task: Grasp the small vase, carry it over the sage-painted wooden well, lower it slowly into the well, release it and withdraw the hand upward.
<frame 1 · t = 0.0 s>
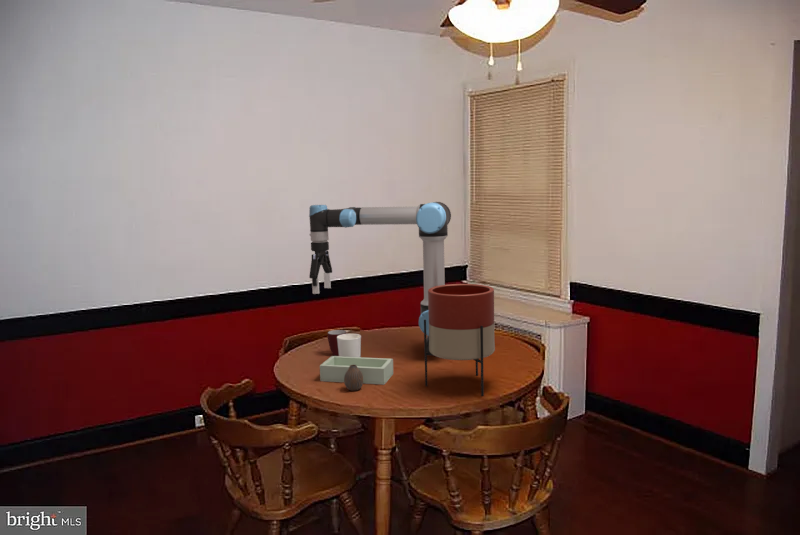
hand: (321, 290, 271), 28 cm above the table, fingers open, 13 cm apart
vase: (354, 389, 228), on the table
mug: (340, 355, 273), on the table
well: (357, 377, 241), on the table
candle holder: (350, 365, 258), on the table
planter: (460, 386, 229), on the table
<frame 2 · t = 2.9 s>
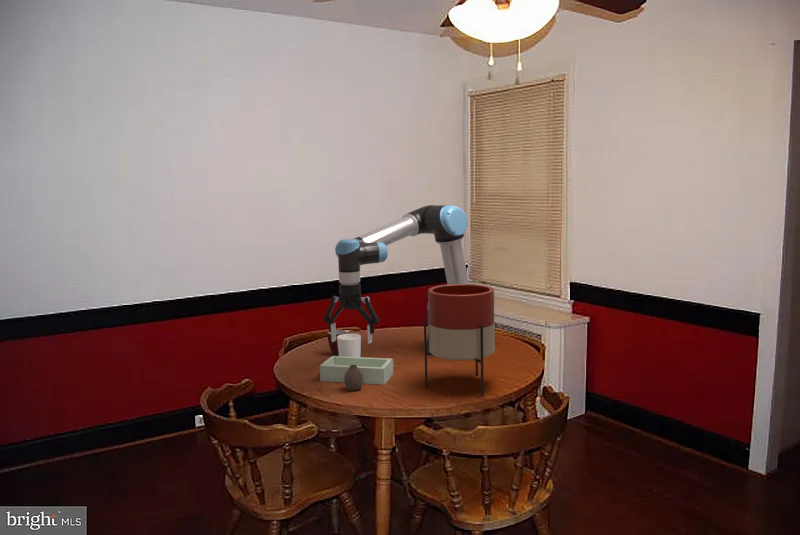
hand: (351, 341, 226), 17 cm above the table, fingers open, 13 cm apart
nothing on the table moved.
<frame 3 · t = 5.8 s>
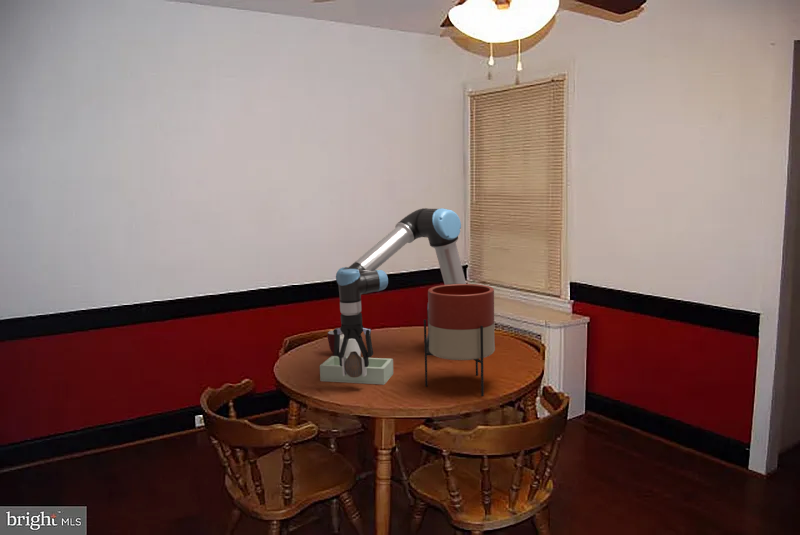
hand: (354, 374, 228), 5 cm above the table, fingers closed on vase, 7 cm apart
vase: (355, 376, 228), point 5 cm above the table, touching gripper
everything else where it was.
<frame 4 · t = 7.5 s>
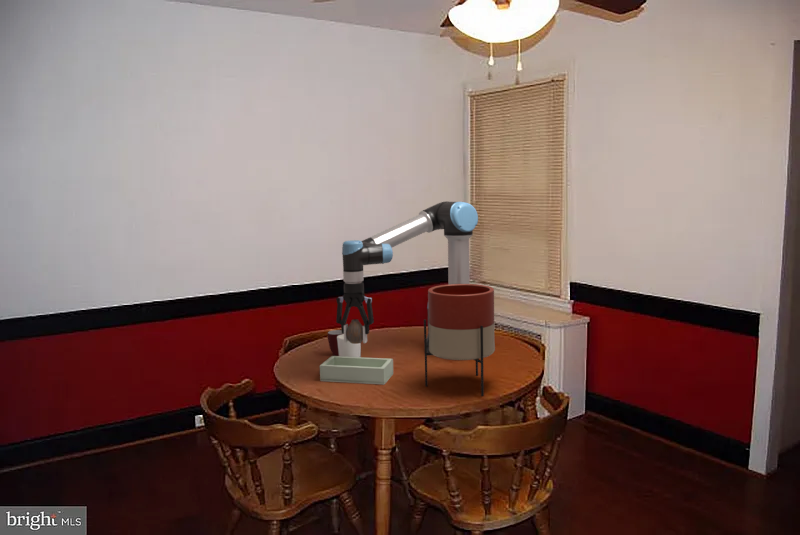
hand: (355, 341, 239), 14 cm above the table, fingers closed on vase, 7 cm apart
vase: (356, 342, 240), point 13 cm above the table, touching gripper
everything else where it was.
when the fingers open (2 cm above the table, at t = 9.6 s): vase stays where it is, resting on well.
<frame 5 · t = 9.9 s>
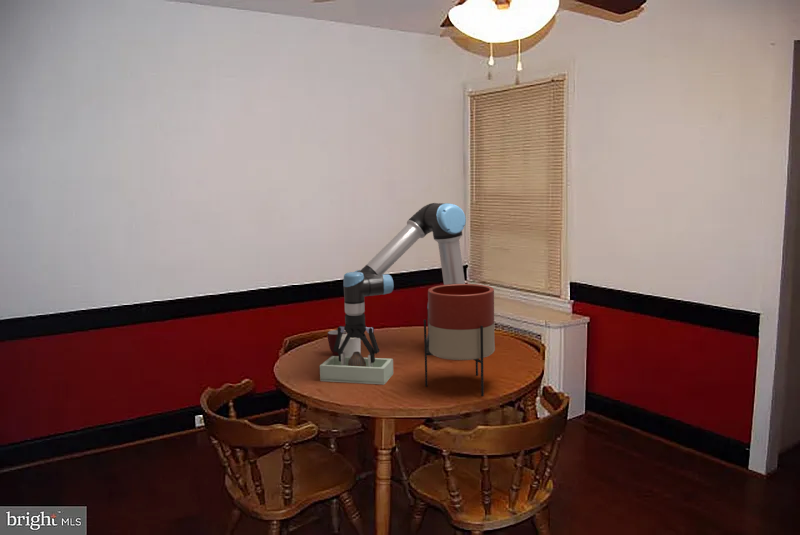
hand: (357, 370, 241), 3 cm above the table, fingers open, 10 cm apart
vase: (357, 375, 242), point 1 cm above the table, touching well
everything else where it was.
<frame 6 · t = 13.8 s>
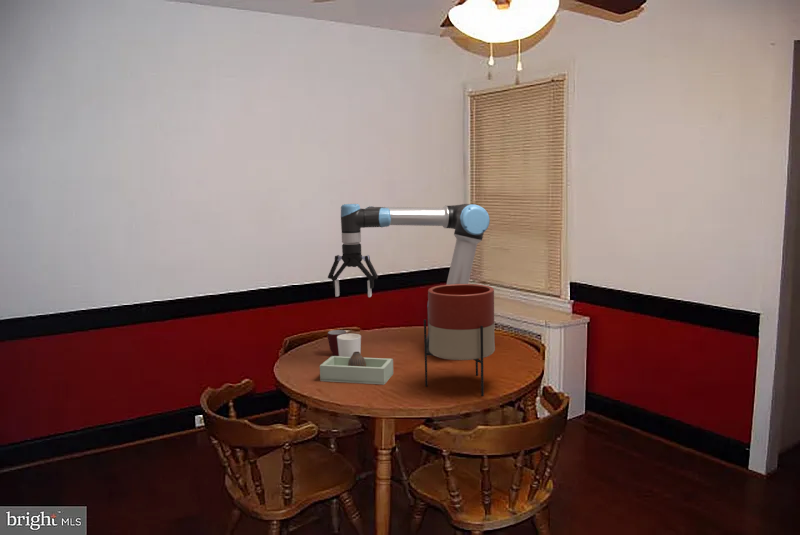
hand: (353, 296, 252), 29 cm above the table, fingers open, 13 cm apart
nothing on the table moved.
at the end: vase inside the target area on the well (0.2 cm from its centre), point 0.8 cm above the well's base; vase tilted 0°; the gripper is holding nothing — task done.
